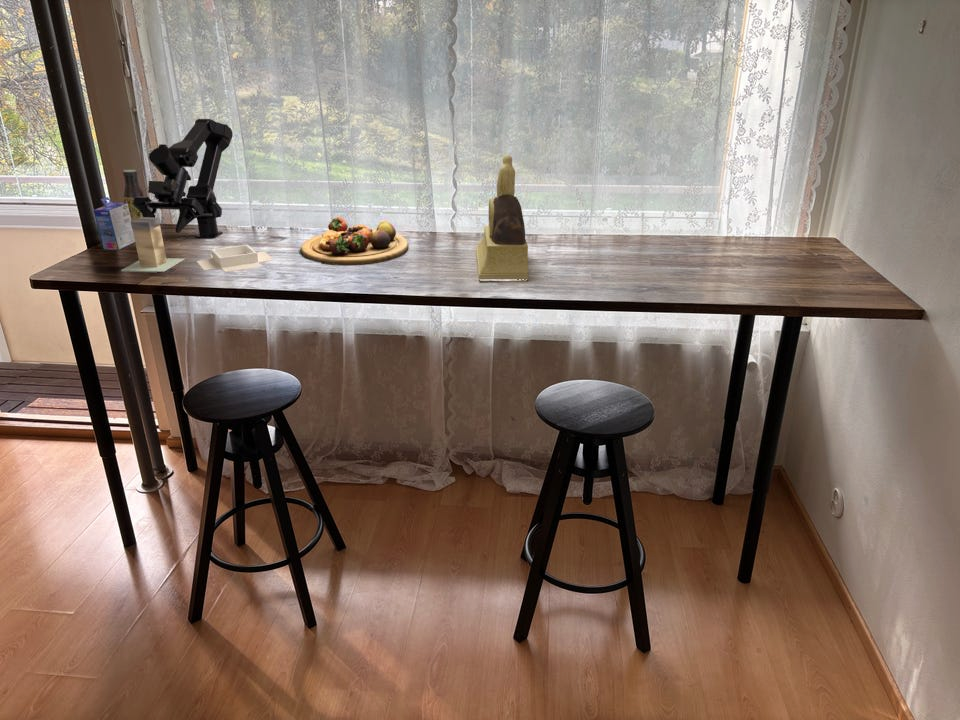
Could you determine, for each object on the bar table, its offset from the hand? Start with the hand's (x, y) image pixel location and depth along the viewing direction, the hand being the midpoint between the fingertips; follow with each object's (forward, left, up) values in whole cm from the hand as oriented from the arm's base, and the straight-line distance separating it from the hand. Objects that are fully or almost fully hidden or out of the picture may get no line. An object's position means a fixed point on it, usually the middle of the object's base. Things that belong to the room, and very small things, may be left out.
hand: (161, 232), depth 199 cm
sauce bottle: (-28, -23, -8) cm, 37 cm away
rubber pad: (+7, 0, -8) cm, 10 cm away
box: (+7, 0, -7) cm, 10 cm away
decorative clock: (-2, +96, -8) cm, 96 cm away
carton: (+1, +21, -8) cm, 22 cm away
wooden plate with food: (-15, +52, -8) cm, 54 cm away
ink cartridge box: (-12, -21, -8) cm, 26 cm away
